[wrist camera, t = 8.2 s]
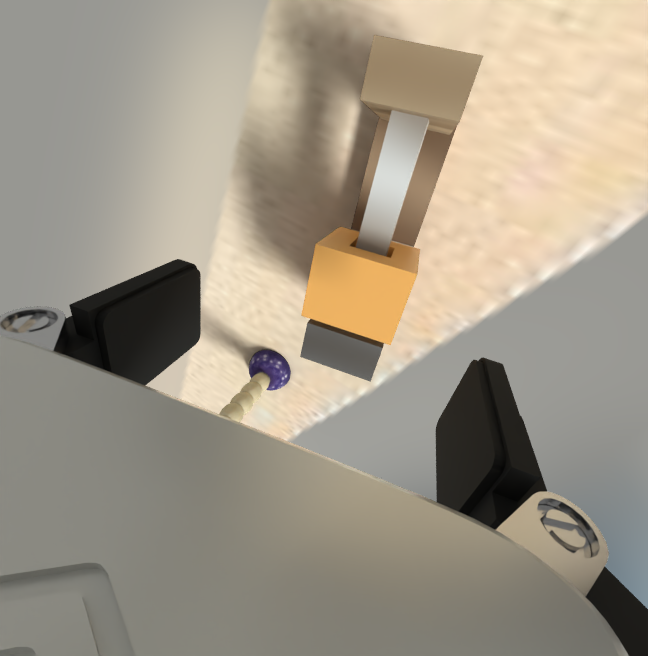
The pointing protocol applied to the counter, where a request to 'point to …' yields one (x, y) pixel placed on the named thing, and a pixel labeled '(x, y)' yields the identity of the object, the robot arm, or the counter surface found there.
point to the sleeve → (359, 285)
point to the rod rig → (398, 167)
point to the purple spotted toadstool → (258, 382)
